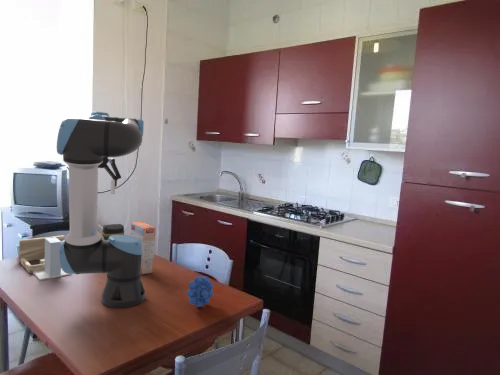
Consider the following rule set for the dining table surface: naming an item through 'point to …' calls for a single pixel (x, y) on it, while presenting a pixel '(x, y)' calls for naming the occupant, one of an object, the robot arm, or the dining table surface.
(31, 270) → the rack
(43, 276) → the mat
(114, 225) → the coffee jar
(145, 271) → the cracker box
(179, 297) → the dining table surface
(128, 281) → the robot arm
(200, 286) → the blue knobbly flower shape
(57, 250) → the white rectangular box
